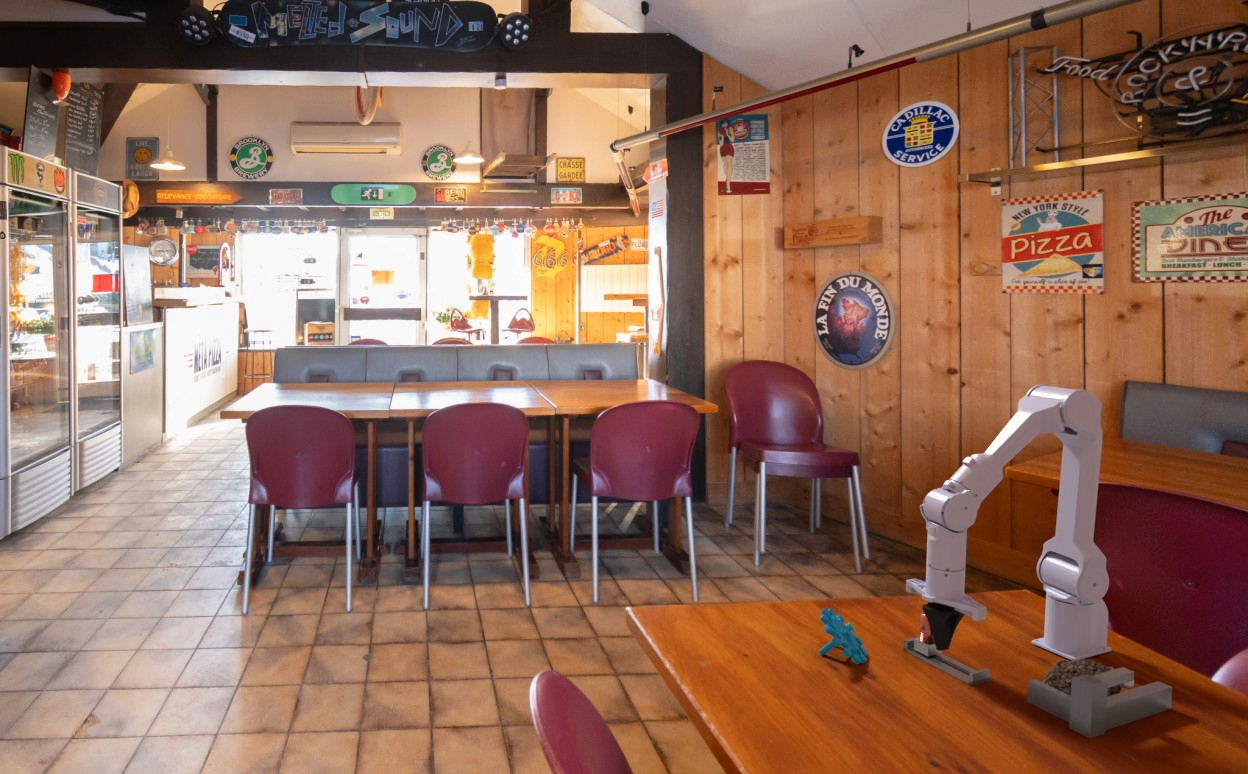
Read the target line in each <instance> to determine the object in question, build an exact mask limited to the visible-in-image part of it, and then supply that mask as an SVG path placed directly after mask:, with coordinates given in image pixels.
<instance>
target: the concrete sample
mask: <svg viewBox="0 0 1248 774" xmlns="http://www.w3.org/2000/svg"><path fill="white" fill-rule="evenodd" d="M1114 669H1115V668H1114V667H1113V666H1105V665H1104V664H1102V663H1098V662H1096V661H1094V660H1092V659H1087V658H1084V659H1083V658H1081V659H1079V660H1076V661H1073V660H1066V659H1059V660H1057V661H1056V662H1055V663H1054V664H1053V665H1052V667H1051V668H1050V669H1047V671H1046V673H1045V674H1044V676H1043V680H1042V681H1041V682H1042V683H1044V684H1046V685H1048V686H1050V687H1053V688H1055V689H1057V690H1059V691H1061V692H1063V693H1065V694H1068V695H1070V696H1071V685H1072V678H1074V677H1078V676H1081V675H1085V674H1088V675H1090V676H1093V675H1097V674H1100V673H1104V672H1107V671H1111V670H1114ZM1122 689H1123V688H1122V687H1119V686H1118V685H1116V686H1113V687H1109V688H1108V691H1107V697H1108V696H1111V695H1114V694H1118V693H1121V690H1122Z"/></svg>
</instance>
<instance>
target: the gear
mask: <svg viewBox="0 0 1248 774" xmlns="http://www.w3.org/2000/svg"><path fill="white" fill-rule="evenodd" d="M820 613H821V616H820V617H819V620H820V622H822V623H823V624H824V626H823V630H824V632H825V633H826V634H827V635H830V636H832V637H831V641H829V642H828V643H827V644H825V645H823V646H822V648H820V649H819V650H818V652H819V654H820V655H821V656H825V655H826V654H827V653H829V652H830V651H831V650H833V649H834V648H835V647H837V648H838V647H843V650H842V651H841V653H842V655H843V656H845V658H846V659H849V658H850V657H851V660H852V662H853V663H854V664H855V665H859V664H864V663H866V662H867V661H868V659H867V657H866V655H868V652H867V650H866V649H865V648H864V647H863V645H864V644H863V640H862V639H861V638H860V637H858V636H856V634H855V629H854V628H855V626H854V624H853V623H852V622H850V621H849V622H848V623H846V624H844V622H845V621H846V620H845V618H844V617H843V616H842V615H841V614H838V615H837V616H836V614H837V613H836V611H834V609H833V608H823V609H822V610H820Z"/></svg>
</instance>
